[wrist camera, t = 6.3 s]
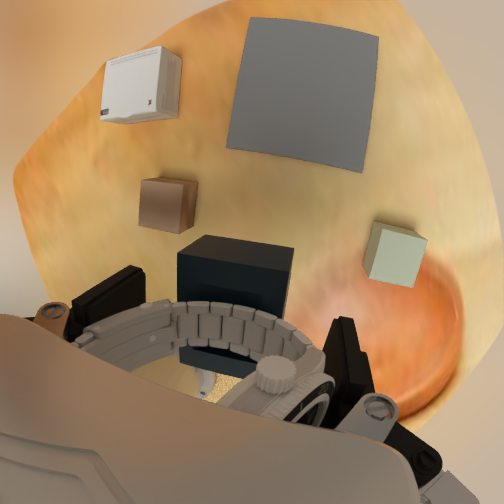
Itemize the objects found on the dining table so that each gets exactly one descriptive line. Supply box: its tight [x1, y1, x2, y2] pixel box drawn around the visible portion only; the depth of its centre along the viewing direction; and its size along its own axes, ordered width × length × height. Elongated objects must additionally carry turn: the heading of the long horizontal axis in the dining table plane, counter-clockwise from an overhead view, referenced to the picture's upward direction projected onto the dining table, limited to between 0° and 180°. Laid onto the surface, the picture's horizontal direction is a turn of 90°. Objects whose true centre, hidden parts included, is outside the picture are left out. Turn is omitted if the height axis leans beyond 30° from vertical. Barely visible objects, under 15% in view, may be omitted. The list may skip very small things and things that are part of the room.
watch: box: [71, 235, 335, 427], centre depth 9 cm, size 6×8×11 cm
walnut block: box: [139, 178, 198, 234], centre depth 29 cm, size 5×5×4 cm
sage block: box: [362, 221, 428, 288], centre depth 26 cm, size 5×5×4 cm
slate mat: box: [226, 17, 379, 173], centre depth 24 cm, size 16×14×1 cm
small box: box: [100, 46, 182, 124], centre depth 25 cm, size 8×8×5 cm
